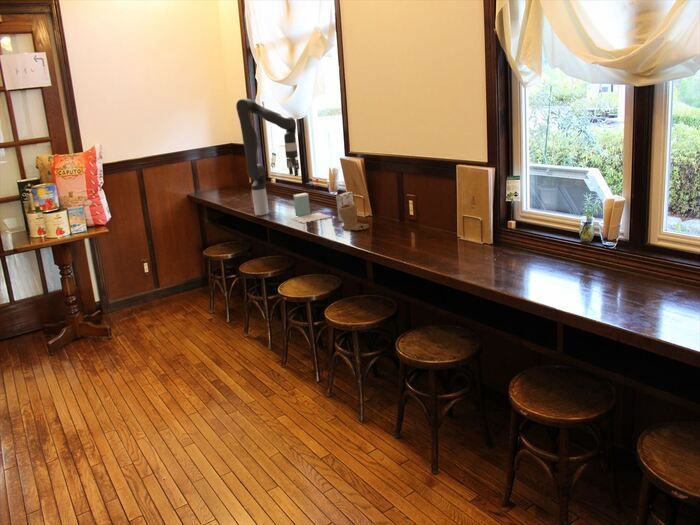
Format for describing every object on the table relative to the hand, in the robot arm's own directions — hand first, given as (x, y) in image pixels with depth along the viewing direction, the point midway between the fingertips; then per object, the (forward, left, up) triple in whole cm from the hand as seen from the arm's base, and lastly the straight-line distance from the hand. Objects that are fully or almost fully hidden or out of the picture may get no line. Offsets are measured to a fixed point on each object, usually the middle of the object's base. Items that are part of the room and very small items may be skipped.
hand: (293, 175), depth 400 cm
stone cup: (+65, +3, -26) cm, 70 cm away
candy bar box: (+41, +13, -26) cm, 50 cm away
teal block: (+7, 0, -26) cm, 27 cm away
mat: (+19, 0, -26) cm, 32 cm away
